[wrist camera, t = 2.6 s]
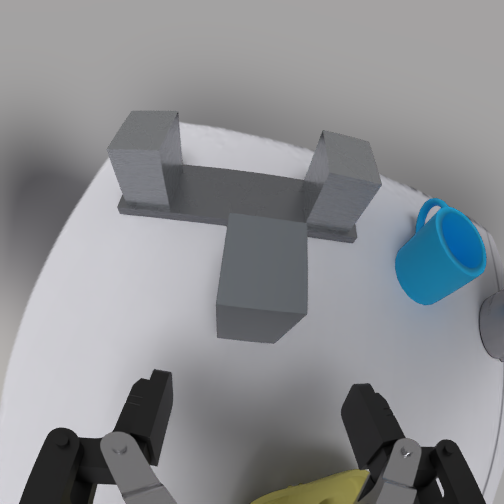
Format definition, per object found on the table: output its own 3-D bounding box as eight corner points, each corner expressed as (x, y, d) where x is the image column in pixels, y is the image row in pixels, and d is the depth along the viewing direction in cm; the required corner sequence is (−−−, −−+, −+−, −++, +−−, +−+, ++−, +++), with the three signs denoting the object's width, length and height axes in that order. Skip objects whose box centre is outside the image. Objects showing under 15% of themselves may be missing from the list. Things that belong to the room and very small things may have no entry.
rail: (346, 195, 33) (376, 141, 25) (352, 243, 30) (392, 191, 22) (139, 168, 31) (125, 108, 23) (120, 213, 28) (95, 153, 20)
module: (277, 279, 27) (306, 220, 18) (273, 343, 24) (307, 313, 15) (225, 273, 26) (229, 210, 18) (217, 337, 23) (216, 304, 15)
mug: (447, 307, 27) (492, 281, 20) (397, 302, 27) (445, 270, 20) (432, 226, 33) (466, 191, 26) (387, 213, 33) (418, 171, 25)
